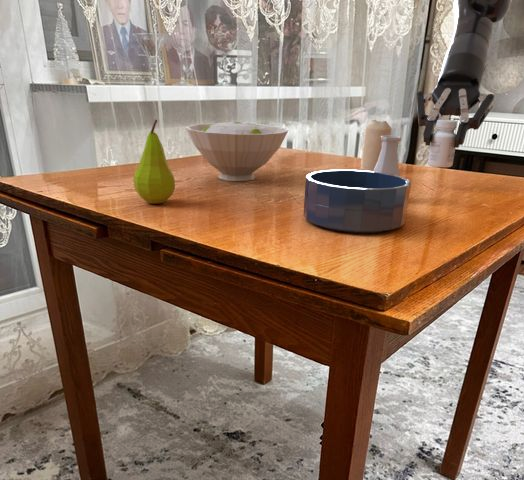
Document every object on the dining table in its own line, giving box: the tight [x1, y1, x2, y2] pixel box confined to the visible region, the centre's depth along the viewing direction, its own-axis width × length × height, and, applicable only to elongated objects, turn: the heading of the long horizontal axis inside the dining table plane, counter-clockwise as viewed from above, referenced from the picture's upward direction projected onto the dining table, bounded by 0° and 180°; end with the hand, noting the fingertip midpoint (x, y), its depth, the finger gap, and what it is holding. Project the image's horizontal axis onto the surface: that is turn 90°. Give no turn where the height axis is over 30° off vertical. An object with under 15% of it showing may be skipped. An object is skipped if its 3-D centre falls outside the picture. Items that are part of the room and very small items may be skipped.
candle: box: [360, 119, 392, 172], centre depth 115 cm, size 6×6×10 cm
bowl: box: [185, 121, 289, 182], centre depth 103 cm, size 19×19×10 cm
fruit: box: [132, 119, 176, 205], centre depth 81 cm, size 6×6×12 cm
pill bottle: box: [427, 119, 458, 168], centre depth 98 cm, size 4×4×8 cm
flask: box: [373, 134, 402, 177], centre depth 89 cm, size 7×7×10 cm
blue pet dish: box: [302, 169, 412, 234], centre depth 76 cm, size 14×14×6 cm
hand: (442, 143), depth 96 cm, fingers closed on pill bottle, 4 cm apart
